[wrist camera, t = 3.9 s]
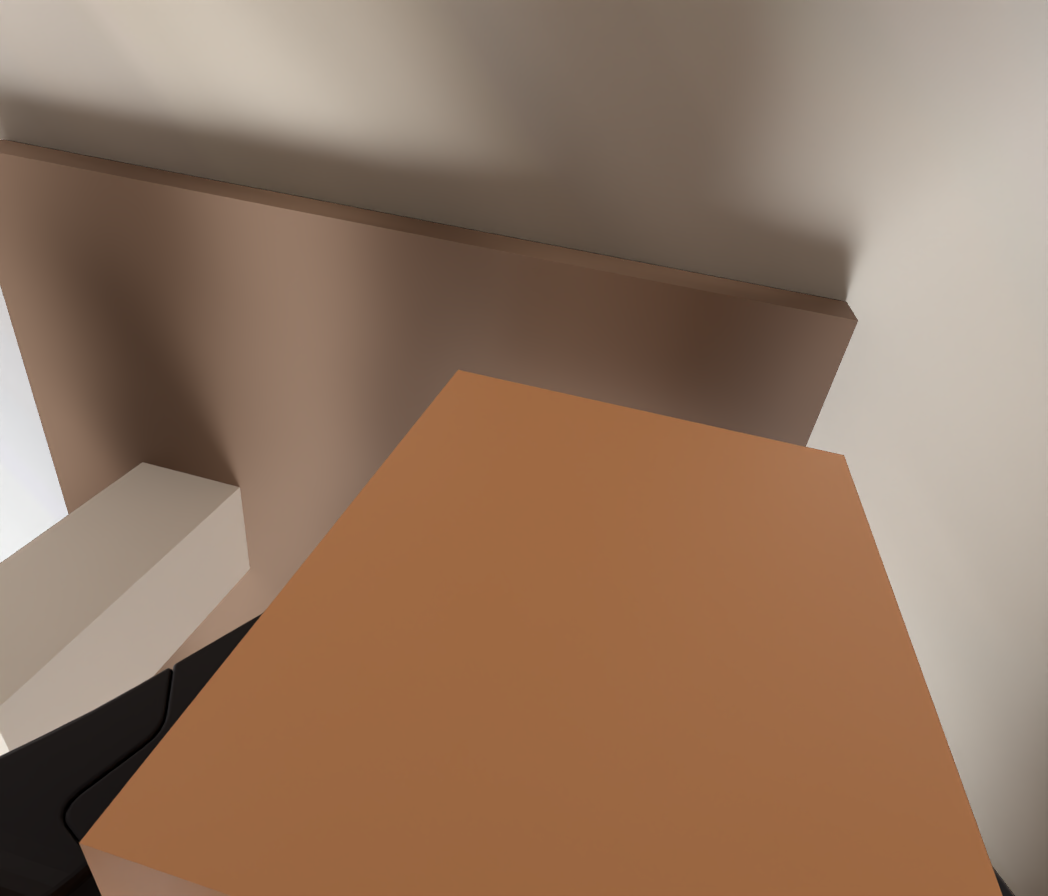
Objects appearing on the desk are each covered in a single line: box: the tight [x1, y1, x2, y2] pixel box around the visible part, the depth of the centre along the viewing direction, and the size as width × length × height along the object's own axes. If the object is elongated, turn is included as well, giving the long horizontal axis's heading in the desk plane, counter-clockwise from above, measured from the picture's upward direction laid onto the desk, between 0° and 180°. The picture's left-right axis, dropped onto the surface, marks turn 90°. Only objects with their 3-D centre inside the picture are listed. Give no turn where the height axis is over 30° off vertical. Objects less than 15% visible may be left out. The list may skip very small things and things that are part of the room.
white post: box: [0, 462, 250, 756], centre depth 14 cm, size 3×3×8 cm
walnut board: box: [0, 140, 858, 676], centre depth 18 cm, size 17×24×1 cm
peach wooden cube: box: [79, 370, 1003, 896], centre depth 7 cm, size 5×5×7 cm
